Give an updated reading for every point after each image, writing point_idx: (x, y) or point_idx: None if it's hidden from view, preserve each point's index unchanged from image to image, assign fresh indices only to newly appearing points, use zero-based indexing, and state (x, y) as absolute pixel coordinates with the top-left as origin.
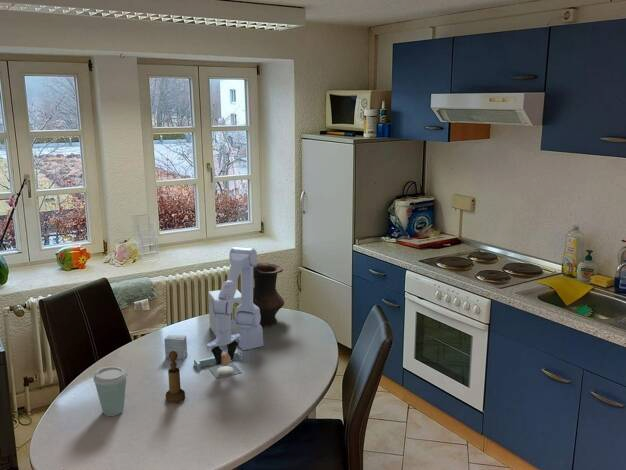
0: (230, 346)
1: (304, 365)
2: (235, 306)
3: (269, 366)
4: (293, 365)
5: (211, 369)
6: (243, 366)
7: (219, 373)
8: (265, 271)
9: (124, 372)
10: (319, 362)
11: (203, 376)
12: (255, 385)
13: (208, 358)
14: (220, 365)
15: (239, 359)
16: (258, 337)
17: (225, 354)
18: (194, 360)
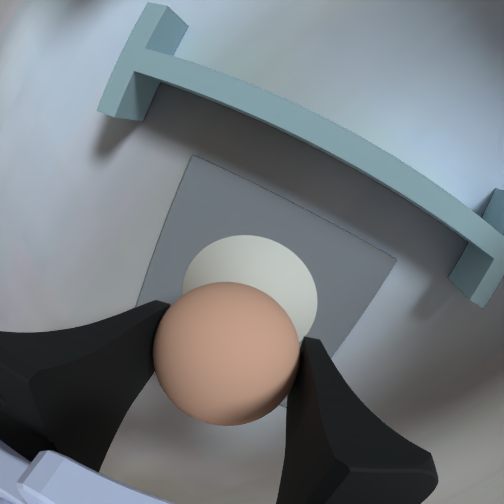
0: (290, 495)
1: (464, 498)
2: None
3: (429, 450)
4: (459, 486)
5: (186, 201)
6: (378, 363)
7: None
8: None
9: None
10: (490, 501)
11: (91, 227)
12: (224, 485)
13: (238, 89)
14: (289, 213)
15: (453, 283)
16: None
17: (205, 417)
18: (141, 20)
